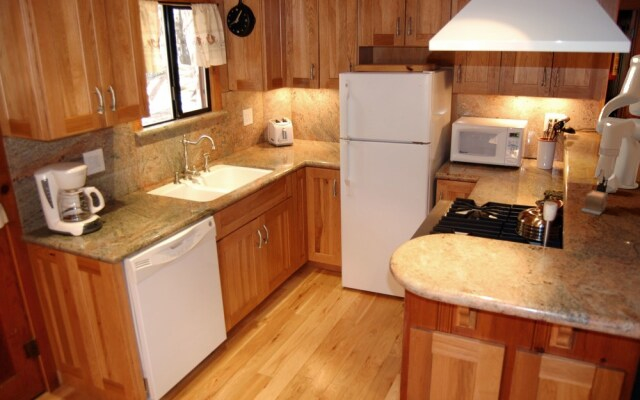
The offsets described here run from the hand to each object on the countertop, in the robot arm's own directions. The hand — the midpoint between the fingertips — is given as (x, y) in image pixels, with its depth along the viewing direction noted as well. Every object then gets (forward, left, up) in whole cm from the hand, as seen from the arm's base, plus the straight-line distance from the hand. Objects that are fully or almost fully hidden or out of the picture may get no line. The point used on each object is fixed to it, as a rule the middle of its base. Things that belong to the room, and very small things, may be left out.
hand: (600, 193), depth 216 cm
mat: (+8, 0, -5) cm, 9 cm away
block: (+2, 0, -2) cm, 2 cm away
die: (-21, -1, -5) cm, 22 cm away
